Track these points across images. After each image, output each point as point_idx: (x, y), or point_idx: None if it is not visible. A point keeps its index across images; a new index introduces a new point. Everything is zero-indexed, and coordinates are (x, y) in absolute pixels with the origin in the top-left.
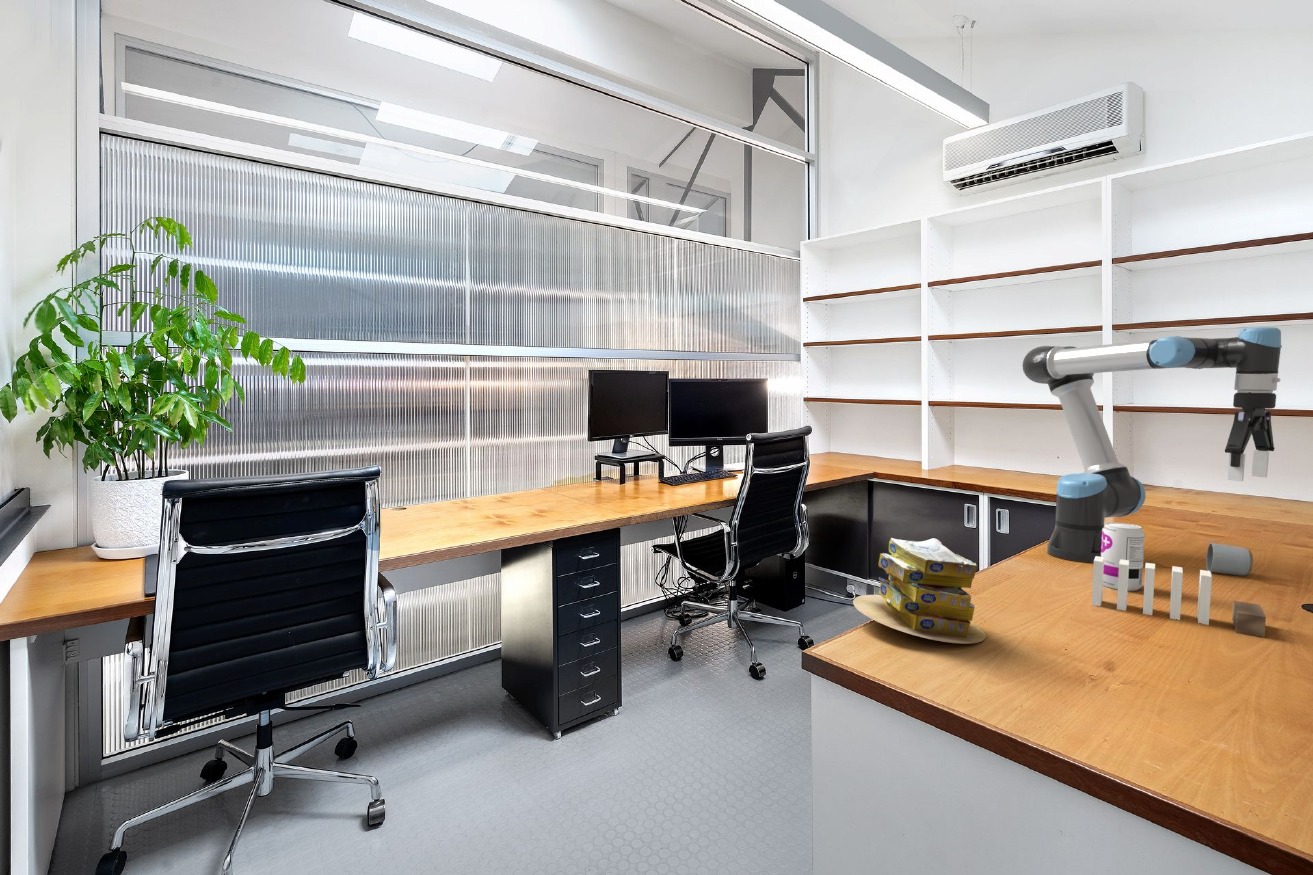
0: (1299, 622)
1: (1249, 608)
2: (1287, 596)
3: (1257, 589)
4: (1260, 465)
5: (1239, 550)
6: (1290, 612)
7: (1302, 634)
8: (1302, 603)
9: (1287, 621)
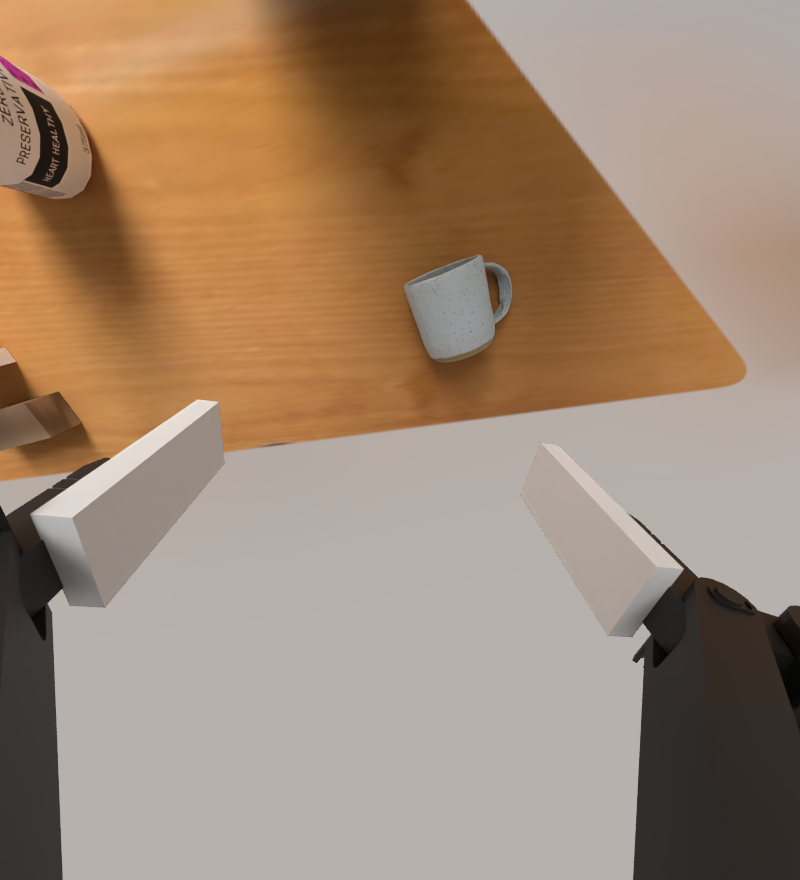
0: None
1: (2, 431)
2: (329, 420)
3: (338, 378)
4: (559, 516)
5: (443, 339)
6: None
7: None
8: (298, 442)
9: None
